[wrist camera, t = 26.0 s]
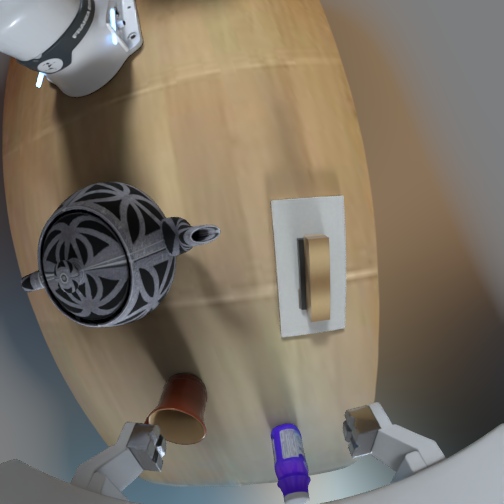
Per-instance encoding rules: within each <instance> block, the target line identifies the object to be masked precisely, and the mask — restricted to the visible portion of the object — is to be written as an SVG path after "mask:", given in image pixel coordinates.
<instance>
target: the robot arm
mask: <svg viewBox="0 0 504 504" xmlns="http://www.w3.org/2000/svg"><path fill="white" fill-rule="evenodd" d="M133 37H135V38H134V39H132V38H133ZM142 43H143V38H142V34H141V29H140V24H139V19H138V14H137V8H136V3H135V0H0V52H3V53H5V54H8V55H10V56H12V57H14V58H16V60H17V62H18V63H20V64H22V65H23V66H26V67H27V68H29V69H31V70H34V71H37V72H40V73H39V77H38V80H37V84H36V86H37V87H41V83H42V79H43V75H44V76H46V77H47V80H48V81H49V82H51V83H54V84H56V85H57V86H58V87H59V88H60V90H61V91H62V92H63V93H64V94H66V95H68V96H71V97H80V96H85V95H88V94H90V93H92V92H94V91H96V90H98V89H99V88H101V87H102V86H103V85H105V84H106V83H107V82H108V81H109V80H110V79H111V78H112V77H113V76H114V75H115V74H116V73H117V72H118V70H119V69H120V68H121V66H122V65H123V63H124V62H125V60H126V59H127V58H128V56H130V55H131V54H132V53H133V52H135V51H136V50H137V49H138V48H139V47H140V46H141V45H142ZM345 419H346V420H345V421H344V422H343V434H344V438H345V440H346V441H347V442H349V447H348V448H349V451H350V454H351V456H352V458H355V457H359V456H363V455H367V454H371V455H372V456H373V457H375V458H376V459H378V460H379V461H381V462H382V463H384V464H385V465H387V466H388V467H390V468H391V469H393V470H394V471H396V474H395V476H394V478H393V480H392V481H391V484H389V485H386V486H383V487H380V488H377V489H374V490H371V491H368V492H365V493H361V494H358V495H354V496H351V497H347V498H343V499H339V500H335V501H330V502H326V503H321V504H504V423H503V424H501V425H499V426H497V427H496V428H495V429H493V430H492V431H490V432H489V433H488V434H486V435H485V436H483V437H482V438H481V439H479V440H477V441H476V442H474V443H472V444H471V445H469V446H468V447H466V448H464V449H463V450H461V451H459V452H457V453H456V454H454V455H452V456H450V457H448V458H447V459H446V458H445V456H444V454H443V453H442V452H441V450H440V449H439V447H438V445H437V444H436V442H435V441H433V440H431V439H428V438H426V437H423V436H421V435H419V434H416V433H414V432H412V431H410V430H407V429H405V428H403V427H400V426H398V425H396V424H395V425H392V423H391V422H390V420H389V418H388V416H387V415H386V413H385V411H384V410H383V408H382V406H381V405H380V403H379V402H376V403H373V404H369V405H365V406H361V407H357V408H354V409H350V410H346V412H345ZM160 431H161V429H160V428H159V426H158V425H151V424H143V423H134V422H126V423H125V425H124V427H123V429H122V431H121V434H120V436H119V438H118V440H117V443H116V445H112V446H110V447H109V448H107V449H105V450H104V451H102V452H101V453H99V454H98V455H96V456H94V457H93V458H91V459H89V460H88V461H86V462H85V463H83V464H81V465H79V466H78V468H77V470H76V472H75V475H74V477H73V478H72V481H71V483H67V482H65V481H62V480H60V479H57V478H55V477H53V476H50V475H48V474H46V473H44V472H42V471H39V470H37V469H35V468H33V467H31V466H29V465H28V464H26V463H24V462H22V461H20V460H17V459H13V460H10V461H7V462H4V463H1V464H0V504H139V503H134V502H130V501H128V499H127V498H126V497H125V496H124V495H123V494H122V493H121V491H122V490H123V489H124V488H125V487H126V486H128V485H129V484H130V483H131V482H132V481H133V480H134V479H135V478H136V477H137V476H139V475H140V474H141V473H142V472H143V471H144V470H149V471H159V472H161V468H162V465H163V460H162V458H161V457H162V456H163V455H165V453H166V440H165V438H164V436H163V435H161V434H160Z"/></svg>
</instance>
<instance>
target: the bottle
mask: <svg viewBox="0 0 504 504" xmlns="http://www.w3.org/2000/svg"><path fill="white" fill-rule="evenodd" d="M271 439H272V446H273V454H274V463H275V472H276V475H277V478H278V480H279V481H278V484H277V485H278V487H279V488H280V489H281V491H282V492H283V495H284V502H285V504H304V503H306V502H308V501H309V494H308V485H309V482H310V477H309V476H308V466H307V463H306V459H305V455H304V450H303V445H302V438H301V434H300V431H299V430H298V428H297V427H296V426H295V425H293V424H290V423H289V424H283V425H279V426H277V427H275V428H273V430H272V432H271Z"/></svg>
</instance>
